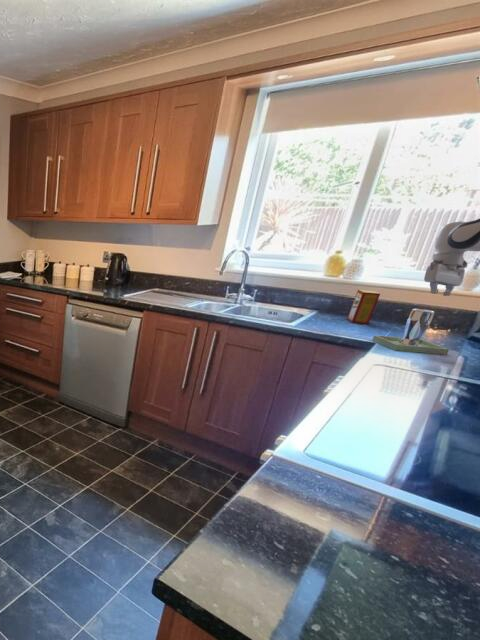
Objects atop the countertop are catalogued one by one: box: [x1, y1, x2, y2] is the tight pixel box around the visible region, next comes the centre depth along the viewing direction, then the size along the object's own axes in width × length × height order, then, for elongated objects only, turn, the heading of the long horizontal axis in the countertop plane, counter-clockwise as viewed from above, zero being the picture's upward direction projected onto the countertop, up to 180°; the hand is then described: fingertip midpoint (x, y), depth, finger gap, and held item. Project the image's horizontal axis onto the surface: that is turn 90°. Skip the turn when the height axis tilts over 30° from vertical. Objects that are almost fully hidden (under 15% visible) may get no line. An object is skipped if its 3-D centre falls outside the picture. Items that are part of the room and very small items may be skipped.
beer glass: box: [398, 308, 436, 346], centre depth 176 cm, size 7×7×15 cm
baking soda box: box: [346, 289, 381, 325], centre depth 220 cm, size 10×6×16 cm
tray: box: [372, 334, 450, 356], centre depth 179 cm, size 18×16×2 cm
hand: (440, 294), depth 183 cm, fingers open, 8 cm apart
